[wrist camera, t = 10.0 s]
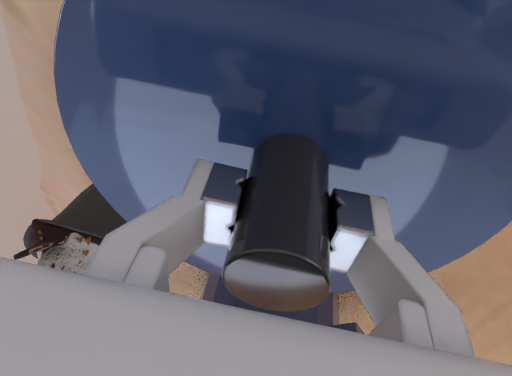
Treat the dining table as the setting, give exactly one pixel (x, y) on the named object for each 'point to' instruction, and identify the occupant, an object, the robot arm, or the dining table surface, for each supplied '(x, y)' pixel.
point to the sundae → (72, 233)
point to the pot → (318, 314)
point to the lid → (297, 122)
